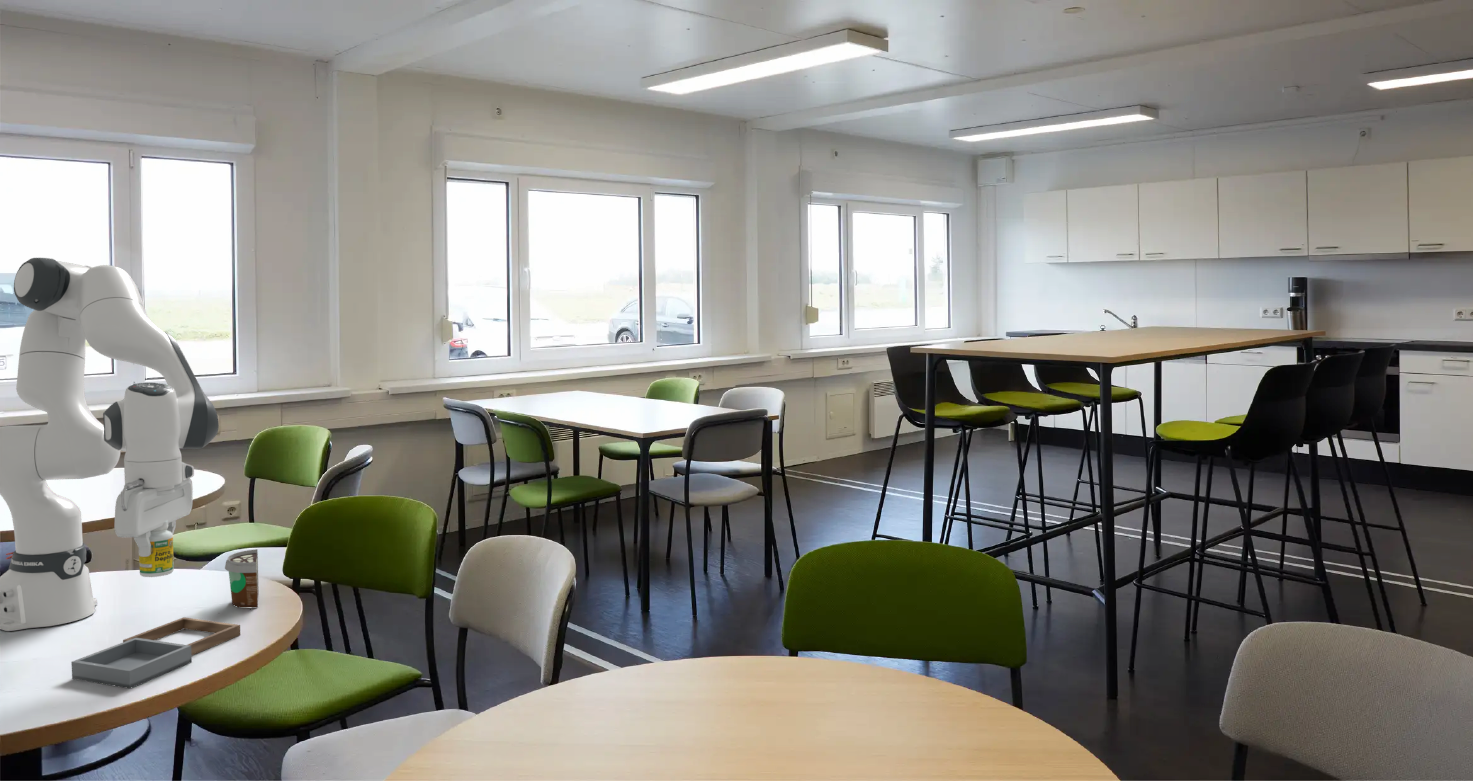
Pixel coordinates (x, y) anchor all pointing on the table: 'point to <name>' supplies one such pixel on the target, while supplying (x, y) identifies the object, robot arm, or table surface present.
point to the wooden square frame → (220, 629)
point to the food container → (243, 578)
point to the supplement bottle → (158, 554)
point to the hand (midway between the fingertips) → (156, 551)
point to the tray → (131, 662)
